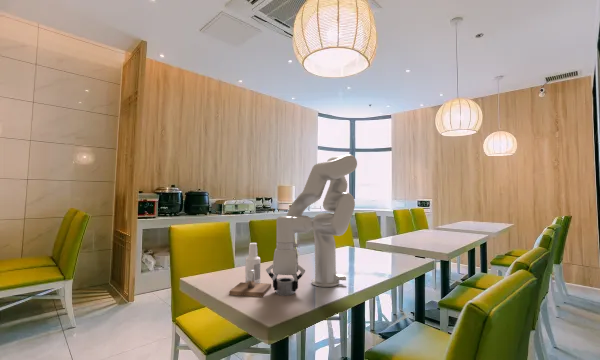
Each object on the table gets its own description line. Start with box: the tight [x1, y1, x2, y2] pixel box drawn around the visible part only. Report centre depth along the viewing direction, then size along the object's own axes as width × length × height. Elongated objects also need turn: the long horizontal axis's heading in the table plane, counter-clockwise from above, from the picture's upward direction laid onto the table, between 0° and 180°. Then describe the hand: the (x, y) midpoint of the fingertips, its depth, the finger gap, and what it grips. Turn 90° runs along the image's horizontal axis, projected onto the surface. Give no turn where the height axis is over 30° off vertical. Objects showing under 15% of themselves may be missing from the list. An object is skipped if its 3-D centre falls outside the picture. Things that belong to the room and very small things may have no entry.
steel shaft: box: [248, 269, 255, 288], centre depth 117 cm, size 3×3×7 cm
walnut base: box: [228, 281, 272, 297], centre depth 117 cm, size 14×12×2 cm
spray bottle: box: [244, 242, 261, 283], centre depth 129 cm, size 7×7×18 cm
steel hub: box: [275, 277, 296, 297], centre depth 115 cm, size 7×7×5 cm
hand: (285, 289), depth 114 cm, fingers closed on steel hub, 7 cm apart
